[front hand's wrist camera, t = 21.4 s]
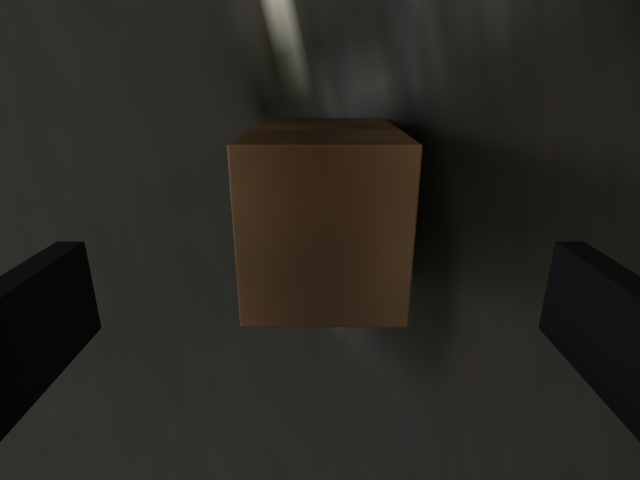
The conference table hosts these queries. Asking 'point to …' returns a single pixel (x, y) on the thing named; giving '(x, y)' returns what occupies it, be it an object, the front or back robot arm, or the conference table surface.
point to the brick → (324, 222)
